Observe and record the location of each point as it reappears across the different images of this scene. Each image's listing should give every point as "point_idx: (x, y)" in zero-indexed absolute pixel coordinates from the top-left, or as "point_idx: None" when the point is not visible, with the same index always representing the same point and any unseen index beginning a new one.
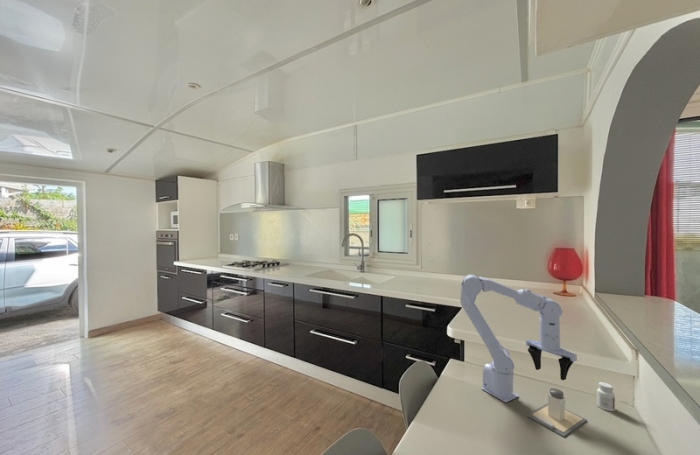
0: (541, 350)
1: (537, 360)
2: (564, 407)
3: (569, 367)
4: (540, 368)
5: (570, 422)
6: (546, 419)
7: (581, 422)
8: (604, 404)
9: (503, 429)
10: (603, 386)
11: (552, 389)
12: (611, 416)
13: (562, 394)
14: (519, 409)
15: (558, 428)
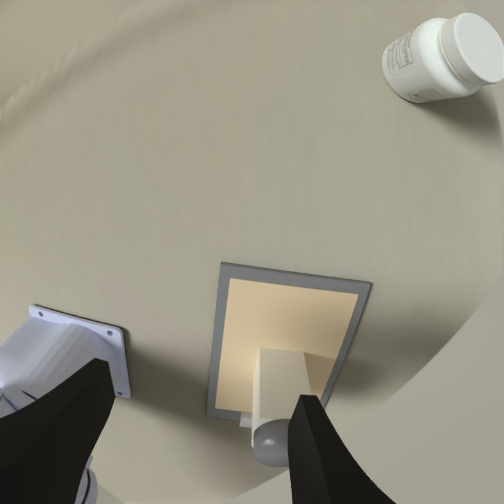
0: (10, 476)
1: (80, 450)
2: (308, 387)
3: (366, 484)
4: (107, 365)
5: (323, 360)
6: None
7: (355, 324)
8: (426, 99)
9: (203, 472)
10: (481, 79)
11: (263, 452)
12: (437, 143)
13: None
14: (173, 397)
15: None
